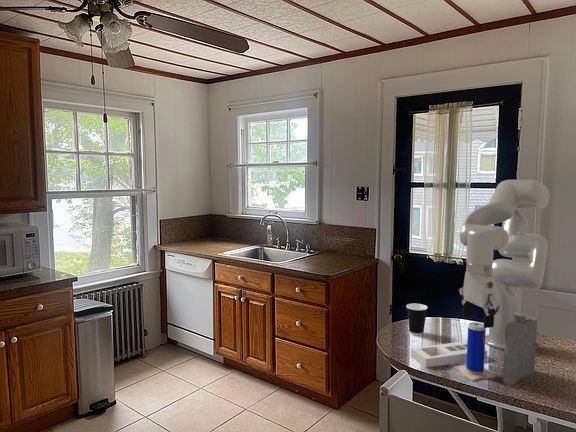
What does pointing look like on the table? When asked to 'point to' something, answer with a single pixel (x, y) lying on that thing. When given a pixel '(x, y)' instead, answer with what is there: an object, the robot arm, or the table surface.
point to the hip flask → (519, 348)
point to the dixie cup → (416, 318)
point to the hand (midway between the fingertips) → (477, 321)
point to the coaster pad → (474, 376)
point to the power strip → (441, 354)
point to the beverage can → (476, 348)
